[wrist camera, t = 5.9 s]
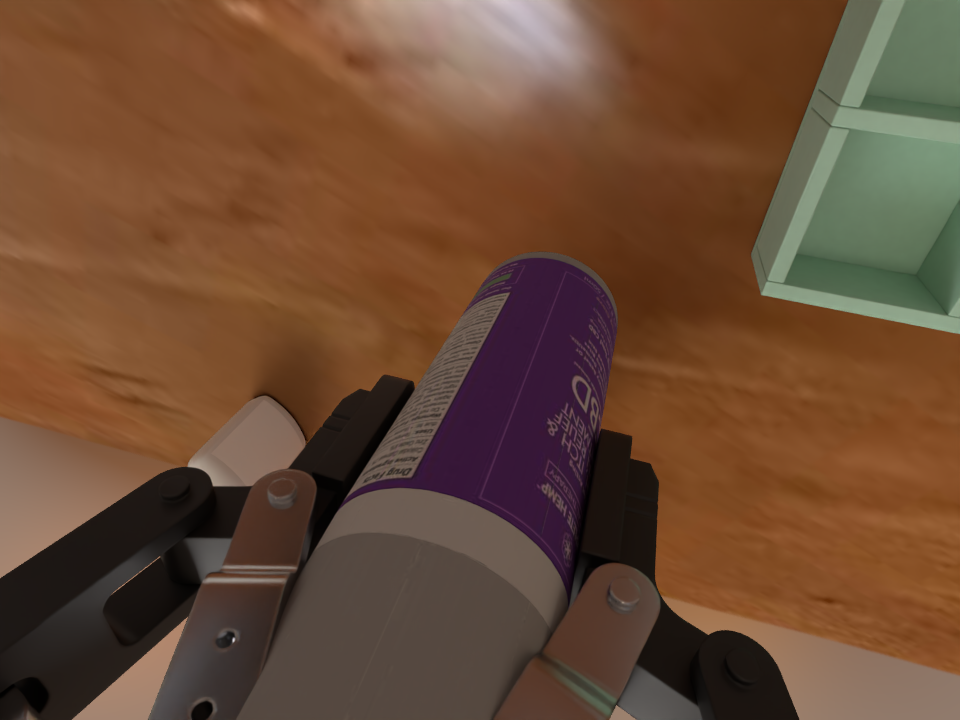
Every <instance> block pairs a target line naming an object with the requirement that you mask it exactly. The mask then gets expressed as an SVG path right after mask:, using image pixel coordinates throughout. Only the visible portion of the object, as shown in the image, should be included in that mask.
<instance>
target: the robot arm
mask: <svg viewBox="0 0 960 720" xmlns="http://www.w3.org/2000/svg"><path fill="white" fill-rule="evenodd" d="M414 390H415V387H414V382H413V381H410V380H406V379H402V378H398V377H394V376H390V375H383V376H382V377H381V378H380V379H379V381H378V382H377V383H376V385H375V386H374V388H373V389H372V390H371V392H370V391H366V390H362V389H359V390H357V391H356V392H354V393H352V394H351V395H349V396H347V397H346V398H344V399H342V401H341V402H340V403H339V405H338V406H337V407H336V408H335V410H334V411H333V412H332V415H331V416H329V417H328V418H327V420H326V421H325V422H324V423H323V426H322V427H320V429H319V430H318V431H317V432H316V434H315V435H314V436H313V437H312V439H311V440H310V441H309V442H308V444H307V445H306V446H305V447H304V449H303V450H302V451H301V453H300V454H299V455H298V456H297V458H296V459H295V460H294V461H293V463H292V464H291V465H290V466H289V468H288V469H281V470H277V471H273V472H271V473H268V474H266V475H265V476H263V477H261V478H260V479H259V480H258V481H257V482H256V483H255V484H254V485H253V486H213V484H212V481H211V478H210V476H209V475H208V474H207V473H206V472H205V471H203V470H201V469H198V468H194V467H179V468H175V469H171V470H167V471H165V472H163V473H160V474H159V475H157V476H155V477H154V478H152V479H151V480H149V481H148V482H146V483H145V484H143V485H141V486H140V487H138V488H137V489H135V490H134V491H132V492H131V493H129V494H128V495H127V496H125V497H123V498H122V499H120V500H119V501H117V502H116V503H114V504H113V505H111V506H110V507H108V508H107V509H105V510H104V511H102V512H100V513H99V514H97V515H96V516H94V517H93V518H91V519H90V520H88V521H87V522H85V523H84V524H82V525H81V526H79V527H78V528H76V529H75V530H73V531H72V532H70V533H69V534H67V535H65V536H64V537H62V538H61V539H59V540H58V541H56V542H55V543H53V544H52V545H50V546H49V547H47V548H46V549H44V550H43V551H41V552H39V553H38V554H36V555H35V556H33V557H32V558H30V559H29V560H27V561H26V562H24V563H23V564H21V565H20V566H18V567H17V568H15V569H14V570H12V571H11V572H9V573H8V574H6V575H5V576H3V577H1V578H0V720H72V719H73V718H74V717H75V716H76V715H77V714H78V713H80V712H81V711H82V710H83V709H84V708H85V707H86V706H87V705H89V704H90V703H91V702H92V701H93V700H94V699H95V698H96V697H97V696H99V695H100V694H101V693H102V692H103V691H104V690H106V689H107V688H108V687H109V686H110V685H111V684H112V683H113V682H115V681H116V680H117V679H118V678H119V677H120V676H121V675H122V674H124V673H125V672H126V671H127V670H128V669H129V668H130V667H131V666H133V665H134V664H135V663H136V662H137V661H138V660H139V659H141V658H142V657H143V656H144V655H145V654H146V653H147V652H148V651H150V650H151V649H152V648H153V647H154V646H155V645H156V644H157V643H158V642H160V641H161V640H162V639H163V638H164V637H165V636H166V635H168V634H169V633H170V632H171V631H172V630H173V629H174V628H175V627H177V626H178V625H179V624H180V623H181V622H182V621H183V620H184V619H186V618H187V617H188V619H187V621H186V624H185V627H184V629H183V632H182V634H181V637H180V639H179V642H178V644H177V647H176V649H175V652H174V655H173V657H172V660H171V662H170V665H169V668H168V670H167V672H166V675H165V677H164V680H163V683H162V685H161V688H160V690H159V693H158V695H157V698H156V700H155V703H154V705H153V708H152V710H151V713H150V716H149V718H148V720H236V718H237V717H238V715H239V713H240V711H241V709H242V708H243V706H244V704H245V702H246V700H247V699H248V697H249V695H250V693H251V691H252V690H253V688H254V686H255V684H256V682H257V681H258V679H259V677H260V675H261V673H262V672H263V669H264V666H265V663H266V660H267V657H268V654H269V651H270V648H271V645H272V642H273V640H274V637H275V634H276V631H277V628H278V626H279V623H280V620H281V617H282V615H283V612H284V609H285V607H286V604H287V602H288V599H289V597H290V594H291V592H292V590H293V588H294V585H295V583H296V581H297V579H298V577H299V575H300V573H301V572H302V570H303V568H304V566H305V565H306V563H307V561H308V560H309V558H310V556H311V555H312V553H313V551H314V550H315V548H316V546H317V545H318V543H319V541H320V540H321V538H322V536H323V535H324V533H325V531H326V529H327V528H328V526H329V524H330V523H331V521H332V519H333V517H334V515H335V514H336V512H337V511H338V509H339V508H340V506H341V504H342V503H343V501H344V500H345V498H346V497H347V495H348V493H349V492H350V490H351V489H352V487H353V486H354V484H355V483H356V481H357V479H358V478H359V476H360V475H361V473H362V472H363V470H364V468H365V467H366V465H367V464H368V462H369V461H370V459H371V458H372V456H373V454H374V453H375V451H376V450H377V448H378V447H379V445H380V443H381V442H382V440H383V439H384V437H385V436H386V434H387V432H388V431H389V429H390V428H391V426H392V425H393V423H394V422H395V420H396V418H397V417H398V415H399V414H400V412H401V411H402V409H403V407H404V406H405V404H406V403H407V401H408V400H409V398H410V397H411V395H412V393H413V392H414ZM631 446H632V436H629V435H625V434H621V433H617V432H613V431H609V430H605V429H601V431H600V434H599V438H598V441H597V446H596V452H595V458H594V463H593V469H592V475H591V480H590V486H589V491H588V497H587V503H586V508H585V514H584V520H583V525H582V531H581V537H580V542H579V548H578V554H577V559H576V565H575V570H574V581H573V587H572V593H571V599H570V604H569V609H568V611H567V613H566V614H565V616H564V617H563V619H562V621H561V622H560V624H559V625H558V627H557V629H556V630H555V632H554V633H553V635H552V636H551V638H550V640H549V641H548V643H547V644H546V646H545V647H544V649H543V650H542V651H541V653H536V654H535V655H534V656H533V658H532V659H531V660H530V662H529V663H528V664H527V666H526V667H525V669H524V671H523V672H522V674H521V675H520V677H519V678H518V680H517V682H516V683H515V685H514V686H513V688H512V689H511V691H510V693H509V694H508V696H507V697H506V699H505V700H504V702H503V704H502V705H501V707H500V708H499V710H498V711H497V713H496V715H495V716H494V718H493V719H492V720H609V719H610V717H611V715H612V713H613V710H614V709H615V706H616V705H617V706H619V707H620V708H622V709H623V710H624V711H626V712H627V713H628V714H630V715H631V716H632V717H634V718H635V719H637V720H799V717H798V715H797V712H796V710H795V707H794V705H793V703H792V700H791V697H790V695H789V692H788V690H787V687H786V685H785V682H784V680H783V677H782V675H781V672H780V670H779V668H778V666H777V664H776V662H775V661H774V659H773V658H772V657H771V655H770V654H769V653H768V652H767V651H766V650H765V649H764V648H763V647H762V646H761V645H760V644H758V643H757V642H756V641H754V640H753V639H751V638H750V637H748V636H746V635H743V634H741V633H738V632H735V631H729V630H724V631H723V630H721V631H716V632H713V633H711V634H709V635H707V634H706V633H704V632H703V631H701V630H699V629H698V628H696V627H695V626H693V625H691V624H690V623H688V622H686V621H685V620H683V619H682V618H681V617H679V616H678V615H677V614H676V613H674V612H673V611H672V610H671V609H670V608H669V607H668V605H667V604H666V603H665V601H664V600H663V599H662V597H661V595H660V593H659V591H658V589H657V586H656V582H655V557H656V534H657V511H658V504H657V502H658V488H659V482H658V479H657V477H656V475H655V473H654V471H653V469H652V466H651V464H650V463H646V462H642V461H638V460H634V459H630V455H631ZM159 556H160V558H159V559H157V558H158V557H159ZM155 559H157V560H156V561H155V562H153V561H154V560H155ZM152 562H153V563H152ZM150 563H152V564H151V565H150V566H148V565H149V564H150ZM146 566H148V567H147V568H146V569H144V568H145V567H146ZM143 569H144V570H143ZM141 570H143V571H142V572H140V571H141ZM139 572H140V573H139ZM137 573H139V574H138V575H137V576H135V575H136V574H137ZM133 576H135V577H134V578H133V579H131V578H132V577H133ZM129 579H131V580H130V581H129V582H127V581H128V580H129ZM126 582H127V583H126ZM124 583H126V584H125V585H124V586H122V585H123V584H124ZM120 586H122V587H121V588H120V589H119V590H117V589H118V588H119V587H120ZM115 590H117V591H116V592H115V593H113V592H114V591H115ZM112 593H113V594H112ZM111 594H112V595H111ZM110 595H111V596H110Z"/></svg>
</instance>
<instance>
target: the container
mask: <svg viewBox="0 0 960 720" xmlns="http://www.w3.org/2000/svg"><path fill="white" fill-rule="evenodd" d="M617 326H618V315H617V309H616V304H615V301H614V298H613V296H612V294H611V292H610V290H609V288H608V287H607V285H606V284H605V282H604V281H603V280H602V279H601V278H600V277H599V276H598V275H597V274H596V273H595V272H594V271H593V270H592V269H590V268H589V267H588V266H586V265H585V264H583V263H581V262H579V261H578V260H576V259H573V258H571V257H568V256H565V255H562V254H557V253H551V252H530V253H525V254H521V255H517V256H515V257H512V258H510V259H508V260H506V261H504V262H503V263H501V264H500V265H499V266H497V267H496V268H495V269H494V270H493V271H492V272H491V273H490V274H489V276H488V277H487V278H486V280H485V281H484V283H483V284H482V285H481V287H480V289H479V290H478V292H477V293H476V295H475V296H474V298H473V300H472V301H471V303H470V304H469V306H468V307H467V309H466V310H465V312H464V314H463V315H462V317H461V318H460V320H459V321H458V323H457V325H456V326H455V328H454V329H453V331H452V332H451V334H450V336H449V337H448V339H447V340H446V342H445V343H444V345H443V346H442V348H441V350H440V351H439V353H438V354H437V356H436V357H435V359H434V361H433V362H432V364H431V365H430V367H429V368H428V370H427V371H426V373H425V375H424V376H423V378H422V379H421V381H420V382H419V384H418V386H417V387H416V389H415V390H414V392H413V393H412V395H411V397H410V398H409V400H408V401H407V403H406V404H405V406H404V407H403V409H402V411H401V412H400V414H399V415H398V417H397V418H396V420H395V422H394V423H393V425H392V426H391V428H390V429H389V431H388V432H387V434H386V436H385V437H384V439H383V440H382V442H381V443H380V445H379V447H378V448H377V450H376V451H375V453H374V454H373V456H372V458H371V459H370V461H369V462H368V464H367V465H366V467H365V468H364V470H363V472H362V473H361V475H360V476H359V478H358V479H357V481H356V483H355V484H354V486H353V487H352V489H351V490H350V492H349V493H348V495H347V497H346V498H345V500H344V501H343V503H342V504H341V506H340V508H339V509H338V511H337V512H336V514H335V515H334V517H333V519H332V521H331V523H330V524H329V526H328V528H327V529H326V531H325V533H324V535H323V536H322V538H321V540H320V541H319V543H318V545H317V546H316V548H315V550H314V551H313V553H312V555H311V556H310V558H309V560H308V561H307V563H306V565H305V566H304V568H303V570H302V572H301V573H300V575H299V577H298V579H297V581H296V583H295V585H294V588H293V590H292V592H291V594H290V597H289V599H288V602H287V604H286V607H285V609H284V612H283V615H282V617H281V620H280V623H279V626H278V628H277V631H276V634H275V637H274V640H273V642H272V645H271V648H270V651H269V654H268V657H267V660H266V663H265V666H264V669H263V672H262V673H261V675H260V677H259V679H258V681H257V682H256V684H255V686H254V688H253V690H252V691H251V693H250V695H249V697H248V699H247V700H246V702H245V704H244V706H243V708H242V709H241V711H240V713H239V715H238V717H237V718H236V720H492V719H493V718H494V716H495V715H496V713H497V711H498V710H499V708H500V707H501V705H502V704H503V702H504V700H505V699H506V697H507V696H508V694H509V693H510V691H511V689H512V688H513V686H514V685H515V683H516V682H517V680H518V678H519V677H520V675H521V674H522V672H523V671H524V669H525V667H526V666H527V664H528V663H529V662H530V660H531V659H532V658H533V656H534V655H535V654H536V653H541V651H542V650H543V649H544V647H545V646H546V644H547V643H548V641H549V640H550V638H551V636H552V635H553V633H554V632H555V630H556V629H557V627H558V625H559V624H560V622H561V621H562V619H563V617H564V616H565V614H566V613H567V611H568V609H569V604H570V599H571V593H572V587H573V581H574V570H575V565H576V559H577V554H578V548H579V542H580V537H581V531H582V525H583V520H584V514H585V508H586V503H587V497H588V491H589V486H590V480H591V475H592V469H593V463H594V458H595V452H596V446H597V441H598V438H599V432H600V426H601V421H602V415H603V409H604V403H605V398H606V392H607V386H608V380H609V375H610V369H611V363H612V357H613V352H614V346H615V340H616V334H617Z"/></svg>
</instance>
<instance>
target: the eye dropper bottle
mask: <svg viewBox="0 0 960 720" xmlns="http://www.w3.org/2000/svg"><path fill="white" fill-rule="evenodd" d="M305 443H306V442H305V438H304V436H303V433H302V431H301V429H300V428H299V426H298V424H297V423H296V421H295V420H294V419H293V417H292V416H291V415H290V414H289V413H288V412H287V411H286V410H285V409H284V408H283V407H282V406H281V405H280V404H279V403H277V402H276V401H275V400H273V399H272V398H270V397H268V396H260V397H257V398H255V399H252V400H250V401H249V402H247V403H246V404H245V405H244V406H243V407H242V408H241V409H240V410H239V411H238V412H237V413H236V414H235V415H234V416H233V417H232V418H231V419H230V420H229V421H228V422H227V423H226V424H225V425H224V426H223V427H222V428H221V429H220V430H219V431H218V432H217V433H216V434H215V435H214V436H213V437H212V438H211V439H210V440H209V441H207V442H206V443H205V444H204V445H203V446H202V447H201V448H200V449H199V451H198V452H197V453H196V454H195V455H194V456H193V457H192V458H191V459H190V461H189V463H188V467H194V468H198V469H201V470H203V471H205V472H206V473H207V474H208V475H209V476H210V478H211V481H212V484H213V486H253V485H254V484H255V483H256V482H257V481H258V480H259V479H260V478H261V477H263V476H265V475H266V474H268V473H271V472H273V471H277V470H281V469H288V468H289V466H290V465H291V464H292V463H293V461H294V460H295V459H296V458H297V456H298V455H299V454H300V453H301V451H302V450H303V449H304V447H305Z"/></svg>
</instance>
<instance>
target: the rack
mask: <svg viewBox="0 0 960 720" xmlns="http://www.w3.org/2000/svg"><path fill="white" fill-rule="evenodd" d="M751 257H752V261H753V265H754V269H755V273H756V276H757V280H758V284H759V288H760V292H761V295H764V296H770V297H775V298H780V299H785V300H790V301H795V302H800V303H805V304H810V305H815V306H820V307H825V308H831V309H836V310H841V311H846V312H851V313H856V314H861V315H866V316H871V317H876V318H881V319H887V320H892V321H897V322H902V323H907V324H912V325H917V326H922V327H927V328H932V329H937V330H943V331H948V332H953V333H958V334H960V0H849V1H848V3H847V6H846V8H845V11H844V14H843V16H842V19H841V21H840V24H839V27H838V29H837V32H836V34H835V37H834V40H833V42H832V45H831V47H830V50H829V53H828V55H827V58H826V60H825V63H824V66H823V68H822V71H821V73H820V76H819V79H818V81H817V84H816V86H815V89H814V92H813V94H812V97H811V99H810V102H809V105H808V107H807V110H806V112H805V115H804V118H803V120H802V123H801V125H800V128H799V131H798V133H797V136H796V138H795V141H794V144H793V146H792V149H791V151H790V154H789V157H788V159H787V162H786V164H785V167H784V170H783V172H782V175H781V177H780V180H779V183H778V185H777V188H776V190H775V193H774V196H773V198H772V201H771V203H770V206H769V209H768V211H767V214H766V216H765V219H764V222H763V224H762V227H761V229H760V232H759V235H758V237H757V240H756V242H755V245H754V248H753V250H752V253H751Z"/></svg>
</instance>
